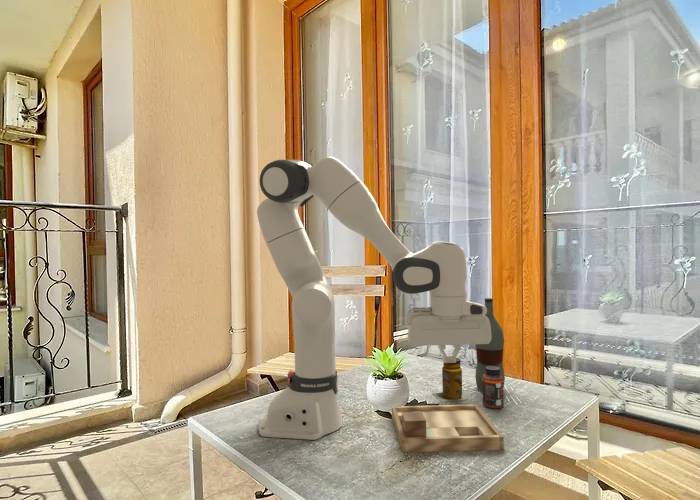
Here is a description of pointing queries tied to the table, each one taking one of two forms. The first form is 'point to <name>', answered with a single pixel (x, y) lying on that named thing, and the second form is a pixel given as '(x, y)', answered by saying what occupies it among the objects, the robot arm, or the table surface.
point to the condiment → (451, 382)
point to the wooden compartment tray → (449, 429)
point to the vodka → (490, 348)
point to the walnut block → (414, 424)
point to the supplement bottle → (493, 388)
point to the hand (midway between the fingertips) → (449, 362)
